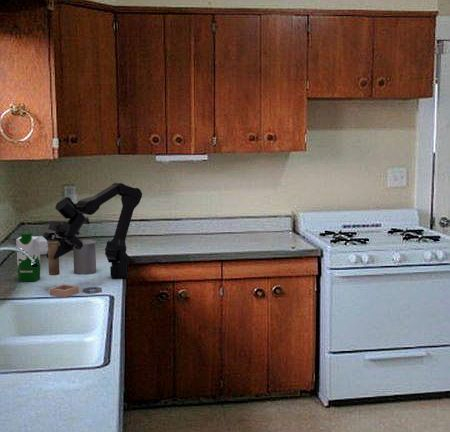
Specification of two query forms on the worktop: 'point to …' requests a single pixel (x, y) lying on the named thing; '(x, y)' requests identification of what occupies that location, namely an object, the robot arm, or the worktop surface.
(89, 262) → the pillar candle
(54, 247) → the peg
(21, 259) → the milk carton
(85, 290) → the washer
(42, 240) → the paper bowls
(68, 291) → the collar
